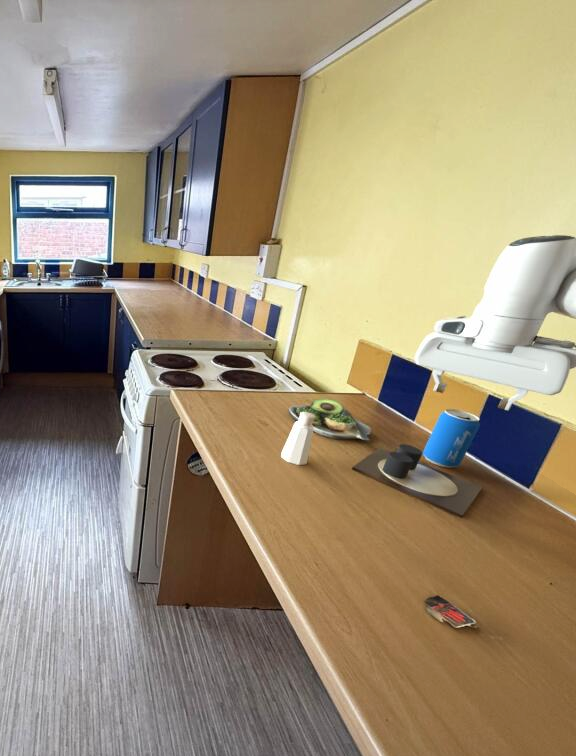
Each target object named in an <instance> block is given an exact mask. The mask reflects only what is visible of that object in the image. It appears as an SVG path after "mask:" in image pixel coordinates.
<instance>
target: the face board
mask: <svg viewBox="0 0 576 756" xmlns="http://www.w3.org/2000/svg"><path fill="white" fill-rule="evenodd" d="M390 452H392V451H391V450H389V449H386V448H383V447H378V448H377V449H375V450H373V452H371V453H370V454H368V455H367V456H366V457H364V458H362V460H360V461H359V462H358V463H356V464H355V465H353V466H352V467H351V470H353V471H354V472H357V473H359V474H361V475H364V476H366V477H368V478H370V479H373V480H375V481H377V482H379V483H382V484H384V485H386V486H389V487H391V488H393V489H395V490H397V491H400V492H402V493H404V494H407V495H409V496H411V497H413V498H415V499H418V500H419V501H420V500H421V501H422V502H425V503H426V504H429V505H432V506H433V507H436V508H438V509H441V510H443V511H445V512H447V513H450V514H452V515H453V516H456V517H458V518H463V517H464V515H465V514H466V512H467V511H468V510H469V508H470V507H471V505H472V504H473V502H474V501H475V499H476V498H477V496H478V495H479V494H480V492H481V491H482V490H483V486H481V485H479V484H476V483H474V482H470V481H468V480H465V479H463V478H460V477H457V476H455V475H452V474H450V473H448V472H446V471H442V470H440V469H437V468H434V467H432V466H430V465H427V464H425V463H421V462H420V461H419V462H418V464H417V466H416V468H415V469H414V470H409V472H408V474H407V476H406V478H404V479H400V478H395V477H392V476H390V475H388V474H386V473H385V472H384V471H383V467H384V465H385V462H386V460H387V457H388V455H389V453H390Z"/></svg>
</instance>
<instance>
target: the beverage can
mask: <svg viewBox="0 0 576 756" xmlns="http://www.w3.org/2000/svg"><path fill="white" fill-rule="evenodd" d="M479 421H480V417H479V416H477V415H475V414H473V413H471V412H467V411H464V410H459V409H455V408H446V409H445V410H444V411H443V412H441V413H440V414H439V416H438V418H437V421H436V423H435V425H434V427H433V429H432V432H431V433H430V436H429V438H428V440H427V442H426V445H425V447H424V449H423V451H422V455H423V457H424V458H425V460H427V461H428V462H429V463H431V464H434V465H435V466H439V467H443V468H447V469H452V468H458V467H460V466H461V464H462V462H463V460H464V458H465V456H466V453H467V452H468V450H469V448H470V446H471V444H472V443H473V440H474V438H475V436H476V434H477V432H478V430H479V428H480V427H481V424H480V422H479Z"/></svg>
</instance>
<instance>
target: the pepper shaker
mask: <svg viewBox="0 0 576 756" xmlns="http://www.w3.org/2000/svg"><path fill="white" fill-rule="evenodd" d="M314 419H315V416H314V415H313V414H311V413H308V412H301V413H300V417H299V421H295V422H294V424H293V426H292V429H291V431H290V433H289V435H288V438H287V439H286V442H285V444H284V446H283V448H282V451H281V454H280V457H281V458H282V459H283V460H285V461H286V462H288V463H290V464H292V465H296V466H303V465H307V464H308V459H309V455H310V450H311V445H312V440H313V434H314V431H313V425H312V423H313V421H314Z"/></svg>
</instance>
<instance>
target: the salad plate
mask: <svg viewBox="0 0 576 756" xmlns="http://www.w3.org/2000/svg"><path fill="white" fill-rule="evenodd" d="M301 412H308V413H311V414H313V415H314V416H315V419H314V421H313V423H312V425H313V433H316V434H318V435H320V436H323V437H327V438H330V439H333V440H341V441H342V440H343V441H345V440H357V439H359V440H363V441H367V442H369V441H370V437H369V435H371V433H372V430H371V427H370V426H369V425H367V424H365V423H363V422H361V421H359V420H358V419H356V418H355V417H353V415H352V413H350V411H349V410H347V409H345V408H344V406H343V405H342V403H340V402H339V401H337V400H334V399H331V398H319V399H315V400H313V401H312V402H311V404H310V405H291V406H290V407H289V408H288V414H289V415H290V417H291V418H292V419H293V420H294V421H295V422H297V421H299V417H300V413H301Z"/></svg>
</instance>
